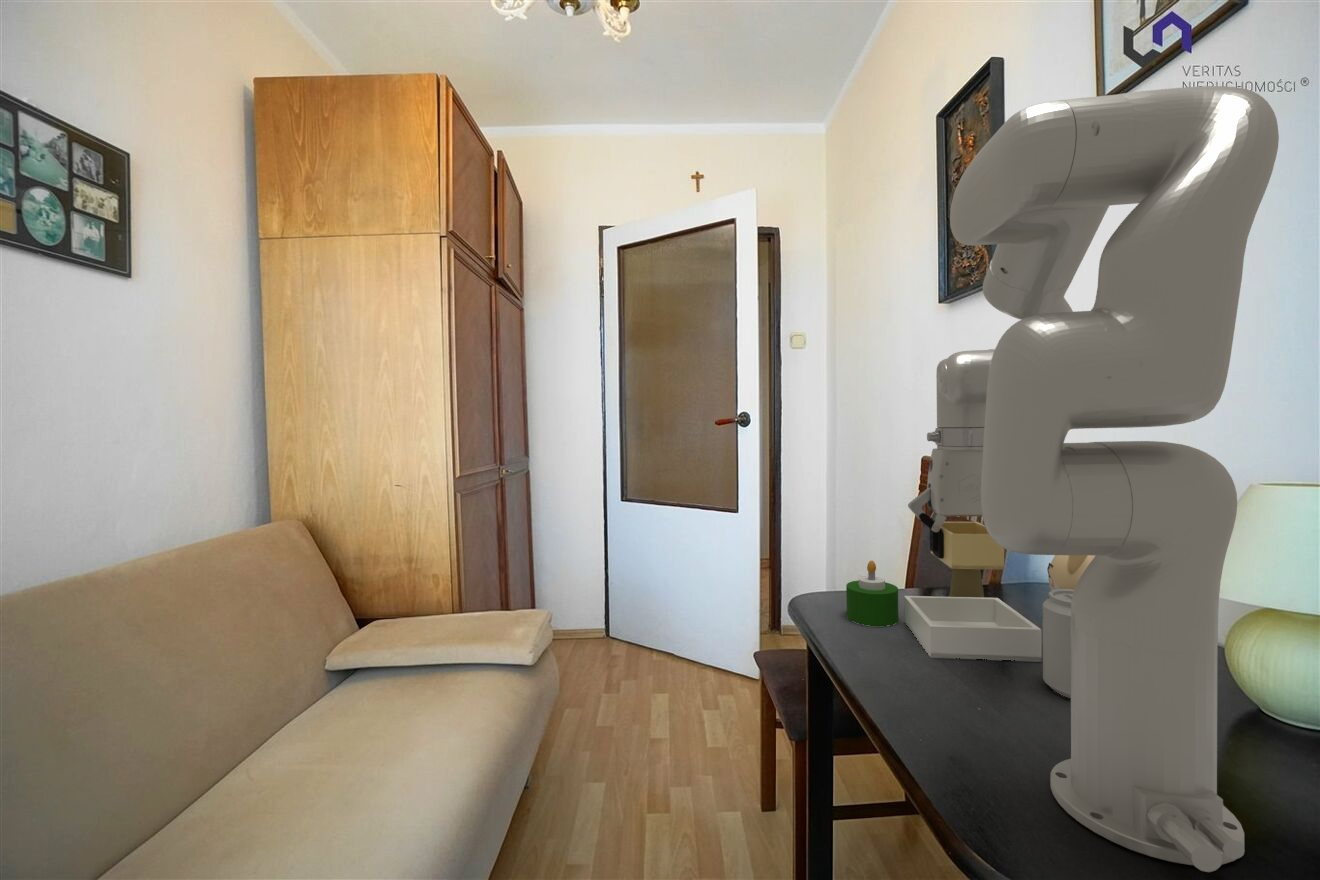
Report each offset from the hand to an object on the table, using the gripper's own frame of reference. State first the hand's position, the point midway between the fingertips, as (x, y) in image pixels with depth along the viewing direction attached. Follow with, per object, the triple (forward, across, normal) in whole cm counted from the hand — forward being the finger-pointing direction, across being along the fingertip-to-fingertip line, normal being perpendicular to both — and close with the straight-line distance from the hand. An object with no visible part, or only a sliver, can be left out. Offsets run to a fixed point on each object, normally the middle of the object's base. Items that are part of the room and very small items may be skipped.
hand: (965, 555), depth 88 cm
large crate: (+13, 0, 0) cm, 13 cm away
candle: (+13, -12, +9) cm, 20 cm away
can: (+13, +8, -16) cm, 22 cm away
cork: (+13, +6, +16) cm, 21 cm away
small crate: (+1, 0, 0) cm, 1 cm away
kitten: (+13, +20, +7) cm, 25 cm away
